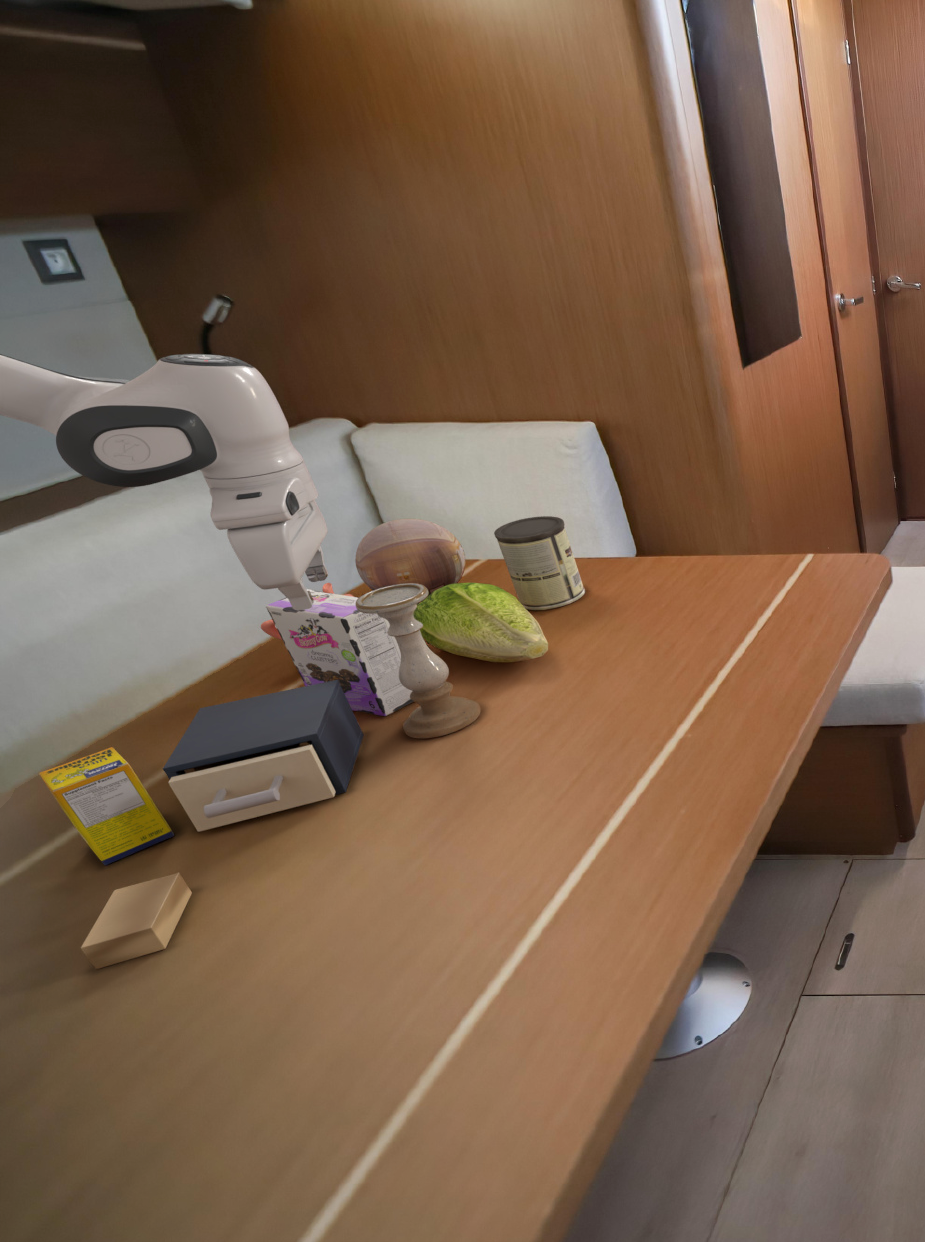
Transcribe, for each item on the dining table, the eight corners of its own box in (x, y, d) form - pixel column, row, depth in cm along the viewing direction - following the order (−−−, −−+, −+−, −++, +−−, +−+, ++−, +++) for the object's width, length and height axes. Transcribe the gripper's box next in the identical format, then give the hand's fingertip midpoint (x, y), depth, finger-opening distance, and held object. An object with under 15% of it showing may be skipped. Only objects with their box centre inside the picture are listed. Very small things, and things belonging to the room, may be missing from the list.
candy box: (311, 704, 130) (261, 604, 123) (352, 683, 135) (307, 587, 128) (385, 718, 127) (339, 616, 120) (424, 696, 132) (382, 598, 125)
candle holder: (412, 713, 128) (357, 587, 119) (485, 699, 132) (437, 575, 123) (398, 745, 121) (339, 614, 112) (476, 729, 125) (425, 601, 116)
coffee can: (515, 595, 163) (490, 524, 156) (580, 581, 168) (558, 511, 162) (523, 616, 155) (497, 542, 149) (590, 600, 161) (568, 528, 155)
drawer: (327, 818, 107) (301, 770, 103) (185, 856, 101) (153, 805, 97) (352, 742, 120) (330, 696, 117) (229, 771, 114) (202, 724, 111)
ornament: (495, 579, 168) (468, 505, 162) (442, 616, 155) (411, 537, 148) (412, 581, 167) (382, 506, 161) (352, 618, 154) (317, 538, 147)
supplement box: (159, 818, 108) (113, 745, 103) (176, 836, 105) (129, 761, 100) (88, 847, 103) (36, 772, 98) (104, 867, 100) (51, 790, 95)
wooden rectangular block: (95, 969, 88) (79, 948, 86) (128, 910, 95) (113, 889, 93) (165, 948, 90) (151, 927, 89) (192, 892, 97) (179, 872, 96)
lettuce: (478, 666, 130) (535, 594, 135) (382, 622, 139) (438, 556, 144) (543, 697, 141) (594, 630, 145) (449, 654, 149) (500, 592, 154)
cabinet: (346, 792, 112) (316, 733, 108) (199, 830, 106) (162, 768, 102) (364, 734, 123) (337, 679, 119) (232, 765, 117) (199, 708, 113)
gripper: (252, 470, 113) (297, 568, 119) (205, 521, 98) (260, 631, 104) (316, 463, 116) (357, 559, 123) (281, 511, 101) (330, 618, 107)
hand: (312, 593), depth 113 cm, fingers open, 8 cm apart
